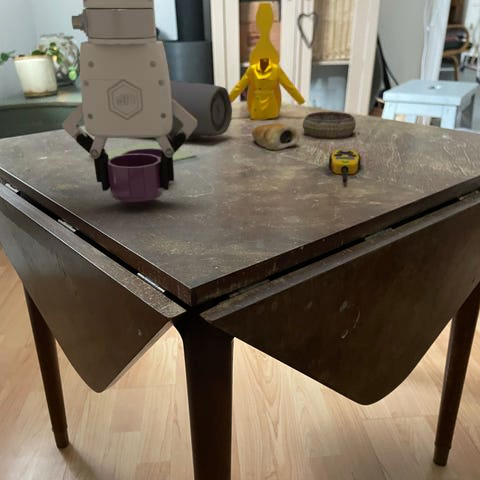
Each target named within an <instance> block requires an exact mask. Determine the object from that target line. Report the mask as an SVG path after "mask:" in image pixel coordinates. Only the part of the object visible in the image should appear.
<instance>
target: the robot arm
mask: <svg viewBox="0 0 480 480" xmlns="http://www.w3.org/2000/svg"><path fill="white" fill-rule="evenodd" d="M82 5H83V8H82V12H80V13H79V14H77V15H71V25H72V29H73V30H80V32H81V31H82V32H83V33H84V34H85V37H86V38H87V40H86V41H82V42H80V47H79V76H80V78H79V79H80V93H81V103H79V105H78V106H76V108H75V109H74V110H73V111H72V112H71V113H70V114H69V115H68V116H67V117H66V118H65V119H64V121H62V123H61V127H62V129H63V130H64V131H65V132H66V133H67V134H68V135H69V136H71V138H72V139H74V140H75V141H76V143H77V144H78V145H79V146H80V147H81V148H82V149H84V150H85V151H86V152H87V153H88V155H90V156H91V157H90V158H92V159H93V163H94V171H95V179H96V182H97V183H101V188H102V191H103V192H106V191H108V190H109V191H110V184H109V176H108V167H107V160H108V159H109V158H108V154H107V153H106V149H105V146H106V143H107V140H108V139H140V138H141V139H143V138H144V139H145V138H154V139H155V140H156V142H157V144H159V145H160V147H161V149H162V154H161V173H162V187H163V189H164V190H165V191H167V190H169V189H170V185H169V181H171V182H174V181H175V168H174V162H173V155H174V153H175V152H176V151H177V150H180V148H181V147H182V146H183V145H184V144H185V143H186V141H187V140H186V139H187V138H188V137H189V136H190V135H191V133H192V132H193V131H194V130H195V128H196V127H197V120H196V119H195V118H194V117H193V116H192V115H191V114H190V113H188V112H187V111H186V110H185V109H184V108H183V107H182V106H180V105H179V104H178V103H177V102H176V101H175V100H173V99H172V96H171V86H170V80H171V78H170V71H169V66H168V60H167V55H166V49H165V46H164V43H163V41H162V40H158V39H157V26H156V25H157V24H156V10H155V0H82ZM173 115H174V116H175V117H176V118H177V119H179V120H180V121H181V122H182V123H183V126H182V128H181V129H180V130H179V132H177V133H176V135H175V136H174V137H173V138H172V139H171V138H170V136H169V134H168V133H169V132H170V131H171V129H172V124H173ZM81 120H83V123H84V128H85V130H86V132H85V131H84V130H83V129H82V127H80V125H79V123H80V122H81ZM93 137H94V138H93ZM164 190H163V191H164Z"/></svg>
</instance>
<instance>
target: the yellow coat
mask: <svg viewBox="0 0 480 480" xmlns="http://www.w3.org/2000/svg"><path fill="white" fill-rule="evenodd" d="M274 16H275V15H274V12H273V8H272V5H271V2H259V4H258V7H257V10H256V14H255V25H256V27H257V30H258V33H259V40H258V41H257V43H256V44H255V46H254V47H253V49H252V50H251V52H250V54H249V58H248V59H249V60H248V61H249V66H248V67H247V69H246V71H245V72H244V74H243V75H242V77H241V78H240V79H239V80H238V82H236V84H235V85H234V87H232V89H231V91H230V93H228V94H229V96H230V100H231V104H232V103H233V102H234V101H236V99H237V98H238V97H239V96H240V95H241V94H242V93H243V91H244V90H245V89H246V88H247V87H248V88H247V94H246V106H247V112H248V114H249V116H250V117H249V119H251V120H253V121H265V120H268V119H274V118H278V117H279V113H280V111H281V107H282V103H283V101H282V99H283V98H282V97H283V96H282V90H281V87H282V88H283V89H284V91H286V92H287V94H289V95H290V97H291V98H292V99H293V100H294V101H295V102H296V103H297V104H298V105H299V106H301V105H303V104H305V103H306V100H305V98H304V97H303V96H302V94H301V92H299V90H298V88H297V87H296V86H295V85H294V83H293V82H292V81H291V80H290V78H289V76H288V75H287V74H286V72H285V71H284V70H283V69H282V66H280V58H281V57H280V54H279V52H278V50H277V48H276V46H274V44H273V43H272V40H271V38H270V33H271V31H272V28H273V25H274V22H275V21H274V19H275V17H274Z"/></svg>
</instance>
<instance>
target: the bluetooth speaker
mask: <svg viewBox="0 0 480 480" xmlns="http://www.w3.org/2000/svg"><path fill="white" fill-rule="evenodd" d="M170 86H171V96H172V99H173V100H175V101H176V102H177V103H178V104H179V105H180V106H182V107H183V108H184V109H185V110H186V111H187V112H188V113H190V114H191V115H192V116H193V117H194V118H195V119H196V120H197V127H196V128H195V130H194V131H193V132H192V133H191V135H190V136H189V137H188V138H187V139H186V141H192V140H195V139H196V138H197V136H199V137H200V136H202V137H203V136H205V137H214V136H222V135H224V134H225V133H226V132H227V131H228V129H229V127H230V126H231V122H232V116H233V106H232V103H231V100H230V96H229V94H230V93H229V91H228V89H227V88H226V87H224V86H220V85H215V84H209V83H199V82H194V81H180V80H171V79H170ZM182 126H183V123H182V122H181V121H180V120H179V119H177V118H176V117H175V116H174V115H173V124H172V129H171V131H170V132H169V133H168V134H169V136H170V138H171V139H172V138H173V137H174V136H175V135H176V133H177V132H179V130H180V129H181V128H182Z"/></svg>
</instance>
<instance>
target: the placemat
mask: <svg viewBox="0 0 480 480" xmlns="http://www.w3.org/2000/svg"><path fill="white" fill-rule="evenodd" d="M145 148H155V149H161V147H160V145H159V143H158V142H157V143H156V142H153V141H152V142H147V143H142V144H137V145H132V146H127V147H122V148H116V149H111V150H107V151H106V150H105V152H106V153H107V154H108V158H109V159H110V158H112V157H115V156H119V155H121V154H123V153H125V152H127V151H130V150H135V149H145ZM88 157H89V158H92V157H91V156H90V154H88ZM196 157H197V154H195V153H192V152H188V151H184V150H181V149H178V150H177V151H176V152H175V153H174V155H173V163H174V162H178V161H182V160H187V159H190V158H196Z"/></svg>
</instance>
